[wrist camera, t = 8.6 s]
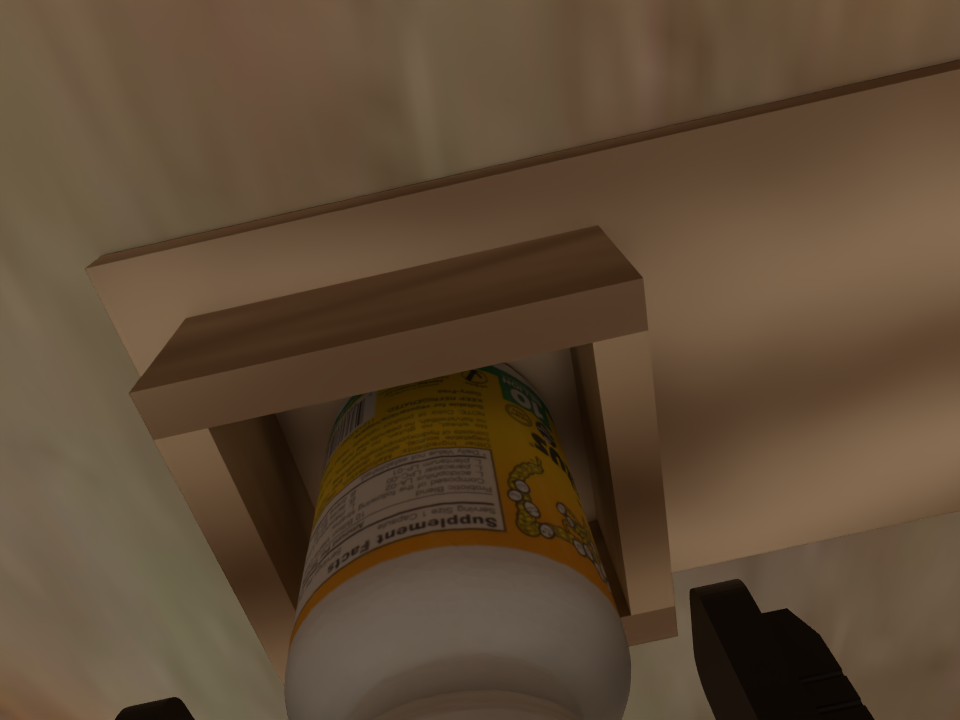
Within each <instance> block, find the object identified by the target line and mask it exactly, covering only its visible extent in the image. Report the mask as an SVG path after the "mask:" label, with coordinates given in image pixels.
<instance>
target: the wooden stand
mask: <svg viewBox="0 0 960 720" xmlns="http://www.w3.org/2000/svg"><path fill="white" fill-rule="evenodd" d="M85 270H86V272H87V274H88V276H89V278H90V280H91V282H92V284H93V286H94V288H95V290H96V291H97V293H98V295H99V297H100V299H101V301H102V303H103V305H104V307H105V309H106V311H107V313H108V315H109V317H110V319H111V321H112V323H113V325H114V327H115V328H116V330H117V332H118V334H119V336H120V338H121V340H122V342H123V344H124V346H125V348H126V350H127V352H128V354H129V356H130V358H131V360H132V362H133V364H134V366H135V367H136V369H137V371H138V373H139V375H140V377H141V378H140V379H139V381H138V382H137V383H136V384H135V386H134V387H133V388H132V390H131V391H130V392H129V394H130V396H131V398H132V400H133V402H134V404H135V406H136V408H137V409H138V411H139V413H140V415H141V417H142V419H143V421H144V423H145V425H146V426H147V428H148V430H149V432H150V434H151V436H152V438H153V440H154V442H155V443H156V445H157V447H158V449H159V451H160V453H161V455H162V457H163V459H164V460H165V462H166V464H167V466H168V468H169V470H170V472H171V474H172V476H173V477H174V479H175V481H176V483H177V485H178V487H179V489H180V491H181V493H182V494H183V496H184V498H185V500H186V502H187V504H188V506H189V508H190V510H191V511H192V513H193V515H194V517H195V519H196V521H197V523H198V525H199V527H200V528H201V530H202V532H203V534H204V536H205V538H206V540H207V542H208V544H209V545H210V547H211V549H212V551H213V553H214V555H215V557H216V559H217V561H218V562H219V564H220V566H221V568H222V570H223V572H224V574H225V576H226V578H227V579H228V581H229V583H230V585H231V587H232V589H233V591H234V593H235V595H236V596H237V598H238V600H239V602H240V604H241V606H242V608H243V610H244V612H245V613H246V615H247V617H248V619H249V621H250V623H251V625H252V627H253V629H254V630H255V632H256V634H257V636H258V638H259V640H260V642H261V644H262V646H263V647H264V649H265V651H266V653H267V655H268V657H269V659H270V661H271V663H272V664H273V666H274V668H275V670H276V672H277V674H278V676H279V678H280V680H281V682H282V683H283V685H284V687H285V671H286V665H287V658H288V651H289V645H290V638H291V633H292V628H293V623H294V619H295V614H296V609H297V603H298V597H299V592H300V587H301V582H302V577H303V572H304V567H305V561H306V555H307V552H308V547H309V542H310V537H311V532H312V527H313V522H314V516H315V510H316V505H317V500H318V495H319V490H320V483H321V477H322V471H323V466H324V462H325V457H326V452H327V447H328V443H329V439H330V435H331V431H332V427H333V424H334V420H335V418H336V415H337V413H338V411H339V409H340V407H341V405H342V404H343V402H344V400H345V399H346V397H351V396H355V395H360V394H364V393H369V392H373V391H378V390H382V389H387V388H391V387H396V386H400V385H405V384H409V383H414V382H418V381H423V380H427V379H432V378H436V377H441V376H445V375H450V374H454V373H459V372H463V371H468V370H472V369H477V368H481V367H486V366H490V365H495V364H499V363H504V364H505V365H507V366H508V367H510V368H511V369H513V370H514V371H515V372H517V373H518V374H519V375H520V376H522V377H523V378H524V379H525V380H527V381H528V382H529V383H530V384H531V385H532V386H533V387H534V388H535V389H536V390H537V391H538V393H539V394H540V396H541V397H542V398H543V400H544V401H545V403H546V405H547V407H548V409H549V411H550V414H551V416H552V419H553V422H554V424H555V426H556V429H557V432H558V435H559V438H560V441H561V444H562V447H563V450H564V453H565V456H566V459H567V462H568V465H569V468H570V471H571V473H572V476H573V479H574V482H575V486H576V490H577V492H578V494H579V497H580V500H581V502H582V507H583V510H584V513H585V516H586V519H587V522H588V525H589V527H590V530H591V533H592V536H593V539H594V542H595V545H596V548H597V551H598V554H599V557H600V560H601V563H602V565H603V568H604V571H605V573H606V576H607V580H608V583H609V586H610V589H611V592H612V595H613V598H614V601H615V604H616V607H617V610H618V613H619V616H620V619H621V621H622V625H623V628H624V631H625V635H626V638H627V642H628V647H629V646H634V645H638V644H643V643H648V642H652V641H657V640H662V639H666V638H671V637H676V636H678V632H677V621H676V611H675V601H674V590H673V580H672V573H673V572H677V571H682V570H687V569H691V568H696V567H701V566H705V565H710V564H715V563H719V562H724V561H729V560H733V559H738V558H743V557H747V556H752V555H757V554H761V553H766V552H771V551H775V550H780V549H785V548H789V547H794V546H799V545H803V544H808V543H813V542H817V541H822V540H827V539H831V538H836V537H841V536H845V535H850V534H855V533H859V532H864V531H869V530H873V529H878V528H883V527H887V526H892V525H897V524H901V523H906V522H911V521H915V520H920V519H925V518H929V517H934V516H939V515H943V514H948V513H953V512H957V511H960V60H957V61H953V62H949V63H944V64H940V65H935V66H931V67H927V68H922V69H918V70H914V71H909V72H905V73H900V74H896V75H892V76H887V77H883V78H879V79H874V80H870V81H865V82H861V83H857V84H852V85H848V86H843V87H839V88H835V89H830V90H826V91H822V92H817V93H813V94H808V95H804V96H800V97H795V98H791V99H787V100H782V101H778V102H773V103H769V104H765V105H760V106H756V107H752V108H747V109H743V110H738V111H734V112H730V113H725V114H721V115H717V116H712V117H708V118H703V119H699V120H695V121H690V122H686V123H682V124H677V125H673V126H668V127H664V128H660V129H655V130H651V131H647V132H642V133H638V134H633V135H629V136H625V137H620V138H616V139H612V140H607V141H603V142H598V143H594V144H590V145H585V146H581V147H576V148H572V149H568V150H563V151H559V152H555V153H550V154H546V155H541V156H537V157H533V158H528V159H524V160H520V161H515V162H511V163H506V164H502V165H498V166H493V167H489V168H485V169H480V170H476V171H471V172H467V173H463V174H458V175H454V176H450V177H445V178H441V179H436V180H432V181H428V182H423V183H419V184H415V185H410V186H406V187H401V188H397V189H393V190H388V191H384V192H380V193H375V194H371V195H366V196H362V197H358V198H353V199H349V200H345V201H340V202H336V203H331V204H327V205H323V206H318V207H314V208H309V209H305V210H301V211H296V212H292V213H288V214H283V215H279V216H274V217H270V218H266V219H261V220H257V221H253V222H248V223H244V224H239V225H235V226H231V227H226V228H222V229H218V230H213V231H209V232H204V233H200V234H196V235H191V236H187V237H183V238H178V239H174V240H169V241H165V242H161V243H156V244H152V245H148V246H143V247H139V248H134V249H130V250H126V251H121V252H117V253H113V254H108V255H104V256H101V257H99V258H98V259H97V260H95V261H94V262H93V263H92V264H90V265H89V266H88V267H86V268H85Z"/></svg>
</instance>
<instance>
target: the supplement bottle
mask: <svg viewBox="0 0 960 720" xmlns="http://www.w3.org/2000/svg"><path fill="white" fill-rule="evenodd" d="M630 683H631V660H630V653H629V647H628V642H627V638H626V635H625V631H624V628H623V625H622V621H621V619H620V616H619V613H618V610H617V607H616V604H615V601H614V598H613V595H612V592H611V589H610V586H609V583H608V580H607V576H606V573H605V571H604V568H603V565H602V563H601V560H600V557H599V554H598V551H597V548H596V545H595V542H594V539H593V536H592V533H591V530H590V527H589V525H588V522H587V519H586V516H585V513H584V510H583V507H582V502H581V500H580V497H579V494H578V492H577V490H576V486H575V482H574V479H573V476H572V473H571V471H570V468H569V465H568V462H567V459H566V456H565V453H564V450H563V447H562V444H561V441H560V438H559V435H558V432H557V429H556V426H555V424H554V422H553V419H552V416H551V414H550V411H549V409H548V407H547V405H546V403H545V401H544V400H543V398H542V397H541V396H540V394H539V393H538V391H537V390H536V389H535V388H534V387H533V386H532V385H531V384H530V383H529V382H528V381H527V380H525V379H524V378H523V377H522V376H520V375H519V374H518V373H517V372H515V371H514V370H513V369H511V368H510V367H508V366H507V365H505V364H504V363H499V364H495V365H490V366H486V367H481V368H477V369H472V370H468V371H463V372H459V373H454V374H450V375H445V376H441V377H436V378H432V379H427V380H423V381H418V382H414V383H409V384H405V385H400V386H396V387H391V388H387V389H382V390H378V391H373V392H369V393H364V394H360V395H355V396H351V397H346V399H345V400H344V402H343V404H342V405H341V407H340V409H339V411H338V413H337V415H336V418H335V420H334V424H333V427H332V431H331V435H330V439H329V443H328V447H327V452H326V457H325V462H324V466H323V471H322V477H321V483H320V490H319V495H318V500H317V505H316V510H315V516H314V522H313V527H312V532H311V537H310V542H309V547H308V552H307V555H306V561H305V567H304V572H303V577H302V582H301V587H300V592H299V597H298V603H297V609H296V614H295V619H294V623H293V628H292V633H291V638H290V645H289V651H288V658H287V665H286V671H285V691H284V692H285V702H286V709H287V715H288V718H289V720H621V719H622V717H623V714H624V711H625V708H626V704H627V701H628V696H629V691H630Z"/></svg>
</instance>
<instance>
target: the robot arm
mask: <svg viewBox="0 0 960 720" xmlns="http://www.w3.org/2000/svg"><path fill="white" fill-rule="evenodd" d="M690 609H691V622H692V636H693V649H694V657H695V662H696V666H697V670H698V674H699V677H700V681H701V684H702V687H703V690H704V692H705V695H706V697H707V700H708V702H709V704H710V707H711V709H712V712H713V714H714V716H715V719H716V720H874V718H873V717H872V715H871V714H870V712H869V710H868V709H867V707H866V706H865V705H863V704H862V702H861V699H860V697H859V695H858V693H857V692H856V690H855V689H854V687H853V686H852V684H851V683H850V681H849V679H848V678H847V676H844V675H843V672H842V669H841V667H840V665H839V664H838V662H837V661H836V659H835V658H834V656H833V655H832V653H831V652H830V650H829V648H828V647H827V645H826V644H825V642H824V641H823V639H822V638H821V636H820V634H818V633H817V632H816V631H815V630H813V629H812V628H811V627H810V626H808V625H807V624H806V623H805V622H803V621H802V620H801V619H800V618H798V617H797V616H796V615H795V614H793V613H792V612H791V611H790V610H788V609H787V608H786V609H781V610H776V611H771V612H767V613H761V611H760V610H759V608H758V606H757V604H756V603H755V601H754V599H753V597H752V596H751V594H750V592H749V590H748V589H747V587H746V586H745V584H744V583H743V582H742V581H741V580H740V579H734V580H730V581H725V582H720V583H716V584H711V585H706V586H702V587H697V588H692V589H690ZM115 720H195V719H194V718H193V716H192V715H191V713H190V712H189V710H188V709H187V707H186V706H185V704H184V703H183V702H182V700H180V699H179V698H177V697H172V698H167V699H162V700H158V701H153V702H148V703H144V704H139V705H134V706H130V707H126V708H124V709H123V710H122V711H121V712H120V713H119V714H118V715H117V717H116V719H115Z"/></svg>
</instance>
